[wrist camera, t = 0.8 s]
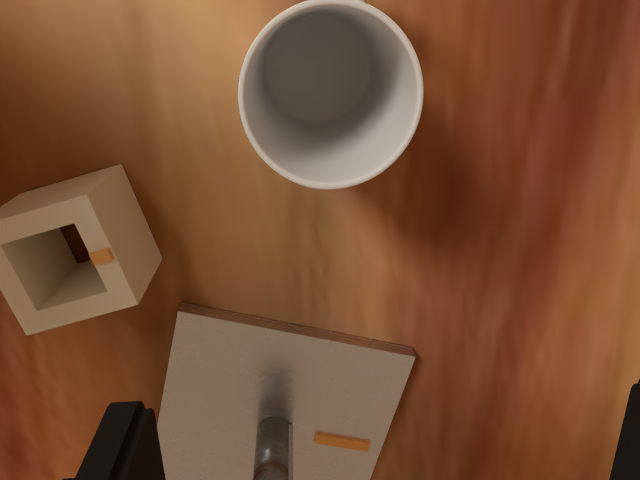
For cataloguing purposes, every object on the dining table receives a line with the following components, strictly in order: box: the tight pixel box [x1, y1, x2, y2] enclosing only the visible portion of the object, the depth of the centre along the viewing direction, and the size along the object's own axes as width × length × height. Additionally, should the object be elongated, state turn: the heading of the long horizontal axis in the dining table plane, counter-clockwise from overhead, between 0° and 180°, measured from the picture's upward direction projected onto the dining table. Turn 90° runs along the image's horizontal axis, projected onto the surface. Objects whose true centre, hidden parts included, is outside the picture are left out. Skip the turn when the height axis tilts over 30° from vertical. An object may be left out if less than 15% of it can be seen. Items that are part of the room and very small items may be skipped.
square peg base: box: [157, 302, 416, 480], centre depth 36 cm, size 16×16×8 cm
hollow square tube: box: [0, 164, 163, 336], centre depth 31 cm, size 6×6×6 cm
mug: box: [238, 0, 424, 190], centre depth 25 cm, size 10×7×12 cm, turn 168°
